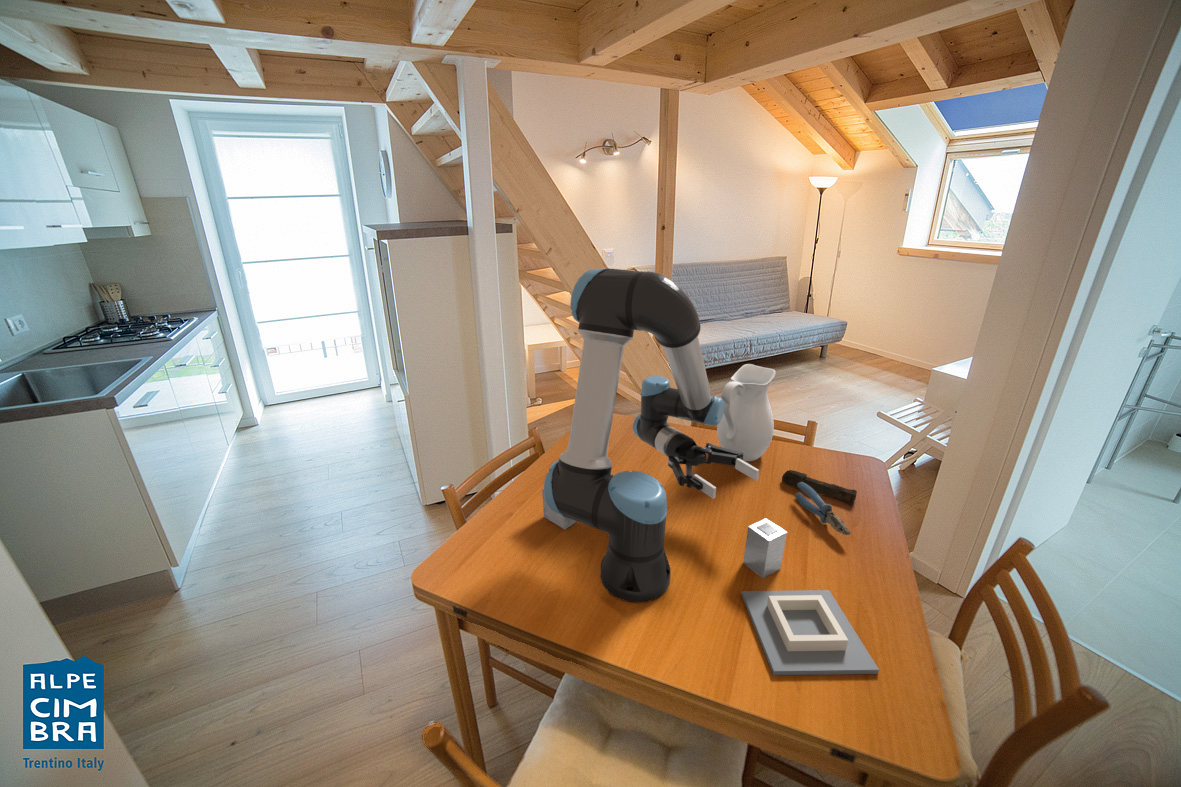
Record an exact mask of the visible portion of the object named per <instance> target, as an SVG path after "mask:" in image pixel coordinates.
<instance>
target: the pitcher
mask: <svg viewBox="0 0 1181 787" xmlns="http://www.w3.org/2000/svg"><path fill="white" fill-rule="evenodd" d="M776 374H777V373H776V369H774V368H769V367H763V366H759V365H755V364H752V363H746V364H743V365H742V366H741V367H740V368H738V369H737V371H735V373H734V374H733V375H732V376H731V377H730V380H731V381H729V382H727V383H726V384H725V386H724V387H723V390H722V391H721V392H722V393H721V397H720V398H722V399H723V401H724V412H723V416H722V419H721V421H720V423H719V424H718V425H716V430H717V440H718V443H719V445H720V447H722V448H726V449H729V450H733V451H737V452H741V453H743V460H744V461H746V462H754V461H756V460H758V459H759V458H760V457H761V456H763V455H764V453H765V452H766V451H767V450H768V449H769V447H770V444H771V442H772V440H773V436H774V430H775V424H774V415H773V412H772V407H771V405H770V401H769V387H770V384H771V383H772V381H774V379H775V377H776Z"/></svg>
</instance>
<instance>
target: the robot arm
mask: <svg viewBox="0 0 1181 787" xmlns="http://www.w3.org/2000/svg"><path fill="white" fill-rule="evenodd" d="M572 289H573V290H572V292H571V296H570V304H569V306H570V310H571V316H572V317H573V319H574V320H575V321H576V322H577V323H578V329H577V331H578V332H579V334H580V335H581V337H582V339H583V342H582V343H583V345H582V351H581V357H580V364H579V370H578V376H577V377H578V378H577V384H576V389H575V390H576V391H575V397H574V398H575V399H574V404H573V405H574V406H573V410H572V417H571V424H570V430H569V438H568V444H567V449H566V450H565V451H563V452H562V453H560V455H559V459H558V460H555V461H554V462H553V463H552V464H550V466H549V468H548V472H547V473H546V475H545V477H544V482H543V489H544V497H545V501H546V503H547V505H548V506H549V507H550V509H551V510H552V511H554V512H556V513H558V514H560V515H562V516H563V517H565V518H569V519H572V520H575V521H576V523H577V522H578V523H580V524H583V525H586V526H588V527H591V528H594V529H597V530H599V531H602V532H604V533H607V534H608V545H607V548H606V551H605V553H604V555H603V557H602V560H601V562H600V568H599V569H600V570H599V572H600V576H599V577H600V582H601V584H602V585H603V587H604V588H605V590H606V591H607V592H608V593H609V594H611V595H612V596H614V597H615V598H618V599H620V600H622V601H626V602H628V603H629V602H632V603H645V602H646V603H647V602H650V601H651V602H652V601H653V600H655V599H656V600H657V599H658V598H660V597H661V596H662V595H664V594H665V593H666V591H667V590H668V588H669V587H670V583H671V573H672V572H671V566H670V562H669V560H668V557H667V553H666V550H665V539H666V524H667V523H666V521H667V513H668V501H667V493H666V489H664V486H663V485H662V483H661V482H660V481H659V480H658V479H657V478H655V477H653V475H650V474H648V473H645V472H642V471H638V470H631V471H629V470H624V471H623V470H622V471H619V472H616V473H615V474H614V475H613V474H612V468H613V462H612V461H611V459H610V458H609V457H608V450H609V442H610V436H611V430H612V425H613V424H612V423H613V418H614V411H615V406H616V400H617V399H616V398H617V394H618V393H617V392H618V385H619V380H620V374H621V367H622V362H623V355H624V349H625V346H626V345H627V344H628V343H630V341H632V340H633V338H634V332H635V331H640V332H641V331H643V332H646V333H650V334H651V335H653V336H654V339H655V340H656V342H657V343H658V344H659V345H660V346H661V347H663V350H664V354H665V355H666V359H667V362H668V365H669V366H670V371H671V374H672V376H673V379H674V382H675V385H676V388H674V387H671V382H670V380H669V379H668V378H667V377H664V376H661V375H650V376H647V377H646V378H644V379H643V380H642V383H641V390H640V414H638V415H637V416H636V417H635V418H634V421H633V423H632V431H633V434H635V436H637V437H638V438H639V439H640V440H641V441H642V442H644V443H646V445H647V444H648V445H649V446H651V447H653V448H654V449H655V450H657V451H658V452H659V453H661V454H663V455H664V456H666V457H667V458H668V461H667V462H668V463H667V466H668V467H669V468H670V469H671V470H672V472H673V474H674V477H675V479H676V482H677V484H678V485H679V486H680V487H681V486H682V487H683V486H684V485H685V484H686V485H685V487H686V488H687V489H688V488H689V489H690V488H692V487H693V488H694V489H696V490H697V491H701V492H702V493H703V494H706V496H708V497H709V498H711V499H712V500H713V499H716V498H717V497H716V496H717V487H716V486H715V485H713V484H712V483H711V482H709V481H707V480H706V479H704V478H703V477H701V476H700V475H699V474H697V473H695V474H693V466H694V467H697V466H699V465H702V464H707V465H710V464H719V465H724V466H725V465H726V466H730V467H731V466H732V467H734V469H735V470H737V471H739V472H740V473H741V474H744V475H745V476H747V477H748V478H750V479H752V480H754V481H755V482H756V481H758V480H759V474H760V469H758V468H756V467H755V466H753V465H752V464H751V463H750V462H748V461H744V460H743V453H741V452H737V451H733V450H729V449H726V448H722V447H721V446H717V445H715V444H712V443H710V442H706V443H705V446H704V447H702V446H699V445H697V443H696V441H695V440H694V439H693V438H692V437H690V436H689V435H686V434H685V433H683V432H682V431H680V430H678V429H677V428H675V427H673V426H671V425H670V424H668V418H669V417H672V418H677V419H680V420H685V421H690V422H693V423H697V424H702V425H706V426H713V427H717V425H718V424H719V423H720V421H721V419H722V416H723V412H724V401H723V399H722V398H721V397H719V396H716V395H712V392H711V388H710V383H709V379H708V375H707V369H706V366H705V361H704V357H703V353H702V349H701V344H700V339H699V336H700V332H701V330H702V329H701V322H700V318H699V317H700V316H699V314H698V311H697V310H696V307H695V305H694V304H693V302H692V300H691V298H690V297H689V296H688V295H687V293H686V292H685V291H684V290H683V289H682V288H681V286H679V285H678V283H676V282H674V281H673V280H672V279H671V278H669V277H668V276H665V275H663V274H661V273H657V272H655V271H638V270H628V269H621V268H620V269H618V268H609V267H608V268H607V267H606V268H605V267H604V268H593V269H588V270H587V271H585V272H584V273H583V274H582V275H581V276H580V277H579V278H578V279H577V281H576V283H575V284H574V286H573V288H572ZM681 465H685V471H686V473H684V472H683V469H682V466H681ZM685 474H686V475H685Z"/></svg>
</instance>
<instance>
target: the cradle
mask: <svg viewBox="0 0 1181 787" xmlns="http://www.w3.org/2000/svg"><path fill="white" fill-rule="evenodd" d="M741 598H742V601H743V602H744V605H745V607H746V610H747V613H748V615H749V618H750V620H751V623H752V625H753V628H754V630H755V632H756V635H757V638H758V640H759V642H760V645H761V648H762V651H763V653H764V655H765V658H766V660H767V663H768V665H769V668H770V671H771V673H772V676H805V675H806V676H809V675H811V676H814V675H816V676H817V675H818V676H819V675H821V676H823V675H829V676H830V675H878V674H879V671H880V668H879V667H878V665H877V664H876V662H875V660H874V659H873V658H872V656H871V655H870V653H869V651H868V650H867V648H866V646H865V644H863V642H862V640H861V639H860V636H859V635H858V633H857V631H855V629H854V628H853V626H852V624H851V623H850V620H848V618H847V616H846V615H845V613H844V611H843V610H842V609H841V606H840V605H839V604H838V602H837V599H836V598H835V597H834V596H833V594H832V592H831V590H830V589H818V590H816V589H814V590H813V589H810V590H807V589H805V590H804V589H803V590H742V591H741Z"/></svg>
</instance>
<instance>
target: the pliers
mask: <svg viewBox="0 0 1181 787" xmlns="http://www.w3.org/2000/svg"><path fill="white" fill-rule="evenodd" d="M797 486H798V488H800V489H799V490H801V491H802V492H804V493H805V494H806V495H807V496H808V497H809V498H810V500H811V501H812V502H813V503H814V504H813V503H812V502H811V501H809V500H808V499H807V497H805V496H804V495H803V493H801V492H800V491H799V492H796V493H795V494H794V497H795V498H796V500H797V501H798V503H799V504H800V505H801V506H802V507H803V508H804V509H806V510H807V511H809V512H811V513H813V514H814V515H815V516H818V517H819V520H820V522H821V523H822V524H825V525H826V524H829V525H830V527H831V528H832V529H834V531H836V532H839V533H840V534H842V535H845V536H849V535H851V531H850V529H849V528H848V526H847V525H846V524H845V522H844V521H843V519H842V518H840V517H839V516H838V515H836V514H835V513H834V512H833V508H832V505H831V504H830V503H827V504H826V503H825V501H824V500H823V499H822V498H821V496H820V495H819V493H816V491H815V490H814V489H813V488H811V487H810V486H809V485H807V484H805V483H803V482H799V483H798V484H797ZM798 488H797V489H798Z"/></svg>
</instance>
